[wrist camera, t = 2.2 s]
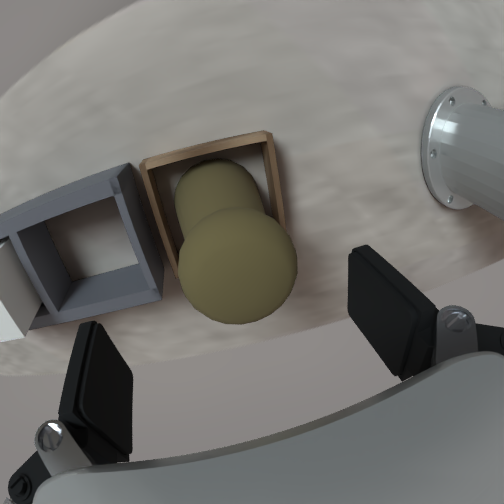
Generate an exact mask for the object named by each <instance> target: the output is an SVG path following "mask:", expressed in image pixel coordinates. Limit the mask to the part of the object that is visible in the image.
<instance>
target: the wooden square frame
mask: <svg viewBox="0 0 504 504" xmlns="http://www.w3.org/2000/svg"><path fill="white" fill-rule="evenodd" d="M257 142H261V148H262V154H263V160H264V166H265V172H266V178H267V184H268V190H269V196H270V202H271V209H272V215H273V218H274V219H275V220H276V221H277V222H278V224H279V225H280V226H281V227H282V228H283V229H284V230H285V231H286V223H285V216H284V209H283V202H282V195H281V188H280V181H279V174H278V168H277V161H276V155H275V148H274V142H273V136H272V133H270V132H267V131H259V132H253V133H248V134H243V135H238V136H233V137H229V138H224V139H220V140H215V141H211V142H207V143H203V144H198V145H194V146H190V147H187V148H183V149H179V150H175V151H171V152H168V153H164V154H161V155H157V156H154V157H150V158H147V159H144V160H143V161H142V162H141V163H140V165H139V168H140V171H141V175H142V178H143V182H144V185H145V188H146V192H147V195H148V198H149V201H150V205H151V208H152V211H153V214H154V217H155V220H156V223H157V226H158V229H159V232H160V235H161V238H162V241H163V244H164V247H165V250H166V253H167V256H168V259H169V261H170V264H171V267H172V270H173V272H174V275H175V278H179V276H178V263H179V256H178V253H177V250H176V247H175V244H174V241H173V238H172V235H171V232H170V228H169V225H168V222H167V219H166V216H165V212H164V209H163V206H162V203H161V199H160V196H159V192H158V189H157V186H156V182H155V179H154V175H153V171H152V168H155V167H158V166H161V165H165V164H169V163H172V162H176V161H180V160H183V159H187V158H191V157H195V156H199V155H203V154H207V153H211V152H216V151H220V150H224V149H229V148H233V147H238V146H243V145H247V144H252V143H257ZM286 232H287V231H286Z"/></svg>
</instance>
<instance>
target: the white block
mask: <svg viewBox="0 0 504 504" xmlns="http://www.w3.org/2000/svg"><path fill="white" fill-rule="evenodd" d="M42 302H43V301H42V300H41V298H40V296H39V294H38V293H37V291H36V289H35V287H34V286H33V284H32V282H31V280H30V278H29V276H28V274H27V273H26V271H25V269H24V267H23V265H22V263H21V261H20V259H19V257H18V255H17V253H16V250H15V248H14V246H13V244H12V242H11V240H10V237H9V235H8V236H6V237H4V238H2V239H0V342H3V341H9V340H14V339H19V338H24V337H25V336H26V334H27V332H28V330H29V328H30V325H31V323H32V321H33V319H34V317H35V315H36V313H37V311H38V309H39V307H40V306H41V304H42Z"/></svg>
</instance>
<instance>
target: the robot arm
mask: <svg viewBox="0 0 504 504" xmlns="http://www.w3.org/2000/svg"><path fill="white" fill-rule="evenodd" d="M421 158H422V168H423V172H424V177H425V180H426V183H427V185H428V188H429V190H430V191H431V193H432V194H433V196H434V197H435V198H436V199H437V200H438V201H439V202H440V203H442V204H444V205H445V206H447V207H449V208H452V209H464V208H468V207H470V206H471V205H473V204H475V205H477V206H479V207H481V208H483V209H484V210H486V211H488V212H490V213H491V214H493V215H495V216H496V217H498V218H500V219H502V220H503V221H504V110H501V109H497V108H493V107H491V105H490V104H489V102H488V100H487V99H486V98H485V97H484V96H483V95H482V94H481V93H480V92H478V91H477V90H475V89H473V88H470V87H463V86H456V87H451V88H449V89H447V90H446V91H444V92H443V93H442V94H441V95H440V96H439V97H438V98H437V99H436V101H435V102H434V104H433V105H432V107H431V109H430V111H429V114H428V116H427V119H426V122H425V126H424V129H423V136H422V146H421ZM348 313H349V315H350V317H351V318H352V320H353V321H354V322H355V324H356V325H357V326H358V328H359V329H360V331H361V332H362V333H363V334H364V336H365V337H366V338H367V340H368V341H369V343H370V344H371V345H372V347H373V348H374V349H375V351H376V352H377V354H378V355H379V356H380V358H381V359H382V360H383V362H384V363H385V365H386V366H387V367H388V369H389V370H390V371H391V373H392V374H393V375H394V376H397V375H398V376H399V378H400V379H401V381H404V380H406V379H408V378H410V377H412V376H413V377H412V378H410V379H408V380H406V381H404V382H402V383H400V384H398V385H396V386H394V387H392V388H389V389H387V390H385V391H383V392H381V393H379V394H377V395H375V396H372V397H370V398H368V399H366V400H364V401H361V402H359V403H357V404H355V405H352V406H350V407H347V408H345V409H343V410H340V411H338V412H335V413H333V414H330V415H328V416H325V417H322V418H320V419H317V420H314V421H312V422H309V423H306V424H303V425H300V426H297V427H294V428H291V429H288V430H285V431H282V432H278V433H275V434H272V435H269V436H265V437H262V438H258V439H254V440H251V441H247V442H243V443H239V444H235V445H231V446H227V447H222V448H218V449H213V450H208V451H203V452H198V453H193V454H187V455H181V456H175V457H169V458H161V459H153V460H145V461H137V462H129V454H131V453H132V400H133V398H132V397H133V374H132V371H131V370H130V368H129V367H128V365H127V364H126V362H125V361H124V359H123V358H122V356H121V355H120V353H119V352H118V350H117V348H116V347H115V345H114V344H113V342H112V341H111V339H110V337H109V336H108V334H107V332H106V331H105V329H104V328H103V326H102V325H101V324H100V323H98V324H97V322H96V321H90V322H86V323H82V324H80V326H79V329H78V332H77V336H76V339H75V343H74V346H73V350H72V354H71V357H70V361H69V365H68V369H67V374H66V378H65V382H64V387H63V392H62V396H61V401H60V406H59V412H58V414H59V418H58V420H48V421H46V422H45V423H43V424H42V425H41V426H40V427H39V428H38V430H37V432H36V435H35V447H36V449H37V451H36V452H35V453H34V454H33V455H32V456H31V457H30V458H29V459H28V460H27V461H26V462H25V463H24V464H23V465H22V466H21V467H20V468H19V469H18V470H17V471H16V472H15V473H14V474H13V475H12V477H11V478H10V481H9V485H8V491H9V495H10V499H8V498H6V500H5V501H4V504H504V328H502V327H495V326H489V325H482V324H476V323H475V319H474V317H473V315H472V314H471V313H470V312H469V311H468V310H467V309H465V308H463V307H460V306H456V305H452V306H446V307H444V308H442V309H441V310H440V311H439V310H438V309H437V308H436V307H435V305H434V304H433V303H432V302H431V301H430V300H429V299H428V298H427V297H426V296H425V295H424V294H423V293H422V292H421V291H419V290H418V289H417V288H416V287H415V286H414V285H413V284H412V283H411V282H410V281H409V280H407V279H406V278H405V277H404V276H403V275H402V274H401V273H400V272H399V271H397V270H396V269H395V268H394V267H393V266H392V265H391V264H390V263H388V262H387V261H386V260H385V259H384V258H383V257H382V256H380V255H379V254H378V253H377V252H376V251H375V250H373V249H372V248H371V247H370V246H369V245H363V246H360V247H357V248H354V249H352V253H350V254H349V256H348ZM117 462H127V463H117Z"/></svg>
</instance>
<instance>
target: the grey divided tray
mask: <svg viewBox="0 0 504 504" xmlns="http://www.w3.org/2000/svg"><path fill="white" fill-rule="evenodd" d="M111 196H114V197H115V200H116V203H117V206H118V209H119V212H120V215H121V217H122V220H123V223H124V226H125V228H126V231H127V234H128V236H129V239H130V242H131V244H132V247H133V250H134V252H135V255H136V257H137V260H138V262H139V264H136V265H132V266H128V267H125V268H121V269H117V270H114V271H110V272H106V273H103V274H99V275H95V276H92V277H88V278H85V279H81V280H77V281H74V282H72V281H71V279H70V277H69V275H68V273H67V271H66V269H65V267H64V265H63V263H62V261H61V259H60V256H59V254H58V252H57V250H56V248H55V246H54V243H53V241H52V239H51V237H50V234H49V232H48V230H47V227H46V225H45V222H44V220H47V219H49V218H52V217H55V216H57V215H60V214H63V213H65V212H68V211H71V210H73V209H76V208H79V207H82V206H85V205H87V204H90V203H93V202H96V201H99V200H102V199H105V198H108V197H111ZM8 235H9V237H10V240H11V242H12V244H13V246H14V248H15V250H16V253H17V255H18V257H19V259H20V261H21V263H22V265H23V267H24V269H25V271H26V273H27V274H28V276H29V278H30V280H31V282H32V284H33V286H34V287H35V289H36V291H37V293H38V294H39V296H40V298H41V300H42V301H43V302H42V304H41V306H40V307H39V309H38V311H37V313H36V315H35V317H34V319H33V321H32V323H31V325H30V328H29V330H32V329H37V328H41V327H46V326H51V325H55V324H60V323H64V322H69V321H73V320H78V319H82V318H87V317H91V316H95V315H100V314H104V313H108V312H113V311H117V310H121V309H125V308H130V307H134V306H138V305H142V304H146V303H150V302H155V301H159V300H162V293H163V279H164V267H163V264H162V261H161V259H160V256H159V253H158V250H157V248H156V245H155V242H154V239H153V236H152V233H151V230H150V227H149V225H148V222H147V219H146V216H145V213H144V209H143V206H142V203H141V200H140V197H139V194H138V191H137V187H136V184H135V181H134V177H133V174H132V171H131V167H130V164H129V163H126V164H123V165H120V166H117V167H114V168H111V169H108V170H105V171H102V172H100V173H97V174H94V175H91V176H89V177H86V178H83V179H80V180H78V181H75V182H73V183H70V184H68V185H65V186H63V187H60V188H58V189H55V190H53V191H50V192H48V193H46V194H43V195H41V196H39V197H36V198H34V199H32V200H30V201H27V202H25V203H23V204H21V205H19V206H17V207H15V208H12V209H10V210H8V211H6V212H4V213H2V214H0V239H2V238H4V237H6V236H8Z"/></svg>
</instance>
